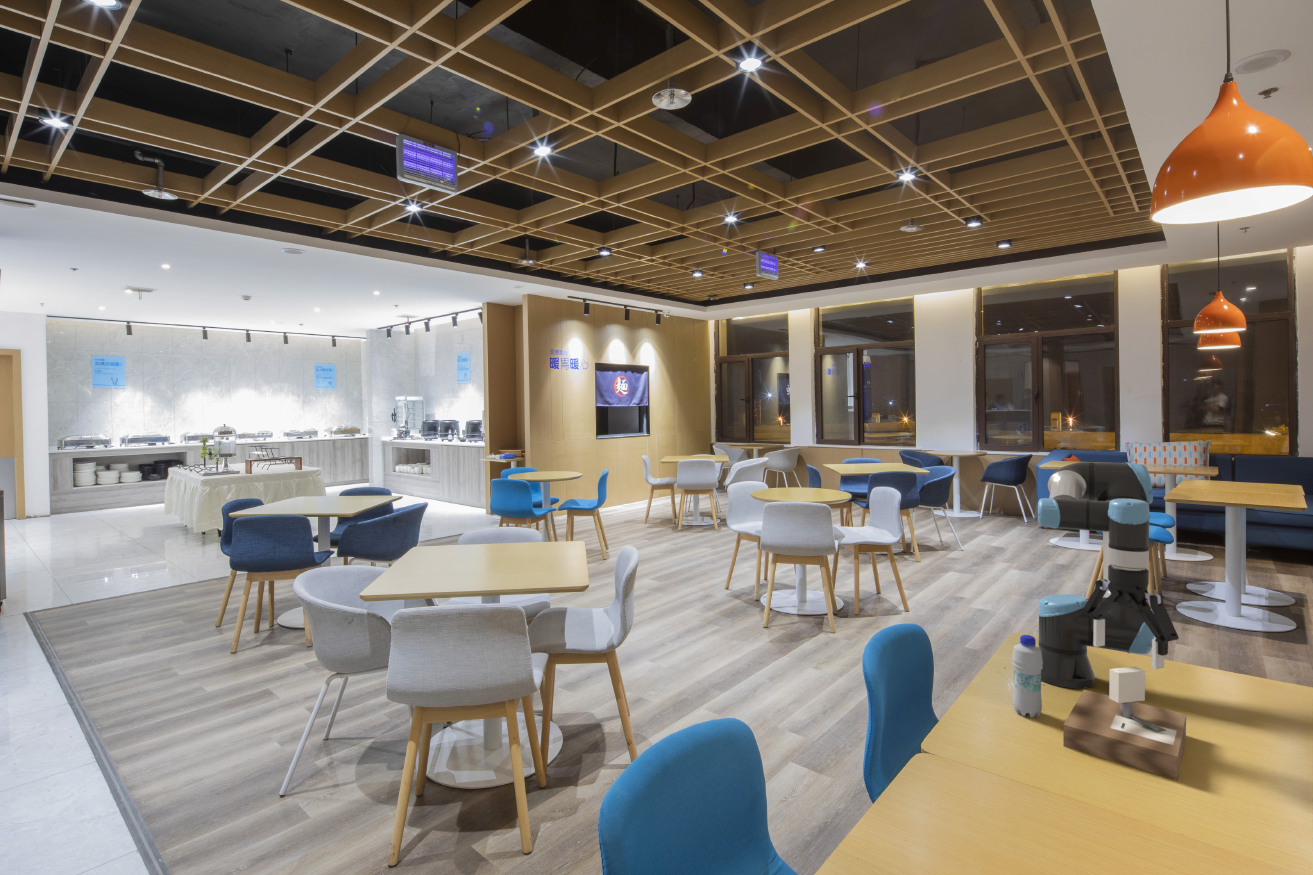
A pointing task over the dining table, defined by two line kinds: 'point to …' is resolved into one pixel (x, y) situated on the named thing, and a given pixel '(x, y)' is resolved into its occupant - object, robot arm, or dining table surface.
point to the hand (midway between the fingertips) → (1127, 656)
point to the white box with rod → (1128, 690)
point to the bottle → (1027, 677)
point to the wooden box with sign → (1127, 734)
